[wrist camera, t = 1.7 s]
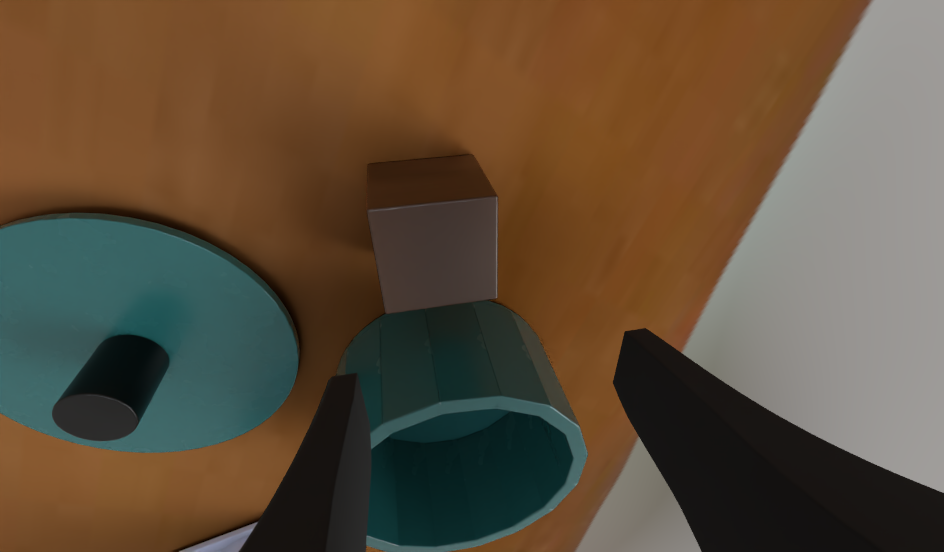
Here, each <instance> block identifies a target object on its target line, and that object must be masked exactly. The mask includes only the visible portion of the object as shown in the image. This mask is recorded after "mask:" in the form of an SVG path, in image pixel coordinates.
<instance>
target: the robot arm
mask: <svg viewBox="0 0 944 552" xmlns="http://www.w3.org/2000/svg"><path fill="white" fill-rule="evenodd" d="M613 384H614V387H615V389H616V391H617V394H618V396H619V399H620V401H621V403H622V406H623V408H624V410H625V412H626V414H627V417H628V418H629V420H630V422H631V424H632V425H633V427H634V429H635V430H636V432H637V434H638V436H639V437H640V439H641V441H642V442H643V444H644V446H645V447H646V449H647V451H648V452H649V454H650V456H651V457H652V459H653V461H654V462H655V464H656V466H657V467H658V469H659V471H660V472H661V474H662V476H663V477H664V479H665V481H666V482H667V484H668V486H669V487H670V489H671V491H672V492H673V494H674V496H675V498H676V500H677V501H678V503H679V505H680V507H681V509H682V511H683V513H684V515H685V517H686V519H687V522H688V523H689V526H690V528H691V530H692V532H693V534H694V536H695V538H696V540H697V542H698V544H699V546H700V549H701V551H702V552H944V493H942V492H939V491H937V490H935V489H932V488H930V487H927V486H925V485H922V484H920V483H917V482H915V481H913V480H910V479H907V478H905V477H903V476H900V475H898V474H896V473H893V472H891V471H889V470H886V469H884V468H882V467H880V466H877V465H875V464H873V463H871V462H868V461H866V460H864V459H862V458H860V457H858V456H856V455H853V454H851V453H849V452H847V451H845V450H843V449H841V448H838V447H837V446H834V445H832V444H830V443H828V442H826V441H824V440H822V439H820V438H818V437H816V436H815V435H812V434H811V433H809V432H807V431H805V430H803V429H801V428H800V427H798V426H796V425H794V424H792V423H790V422H788V421H787V420H785V419H783V418H781V417H779V416H778V415H776V414H774V413H773V412H771V411H769V410H767V409H766V408H764V407H762V406H761V405H759V404H757V403H756V402H754V401H752V400H751V399H749V398H748V397H746V396H745V395H743V394H741V393H740V392H738V391H737V390H735V389H733V388H732V387H730V386H729V385H727V384H725V383H724V382H723V381H721V380H720V379H718V378H717V377H715V376H714V375H712V374H711V373H709V372H708V371H706V370H705V369H703V368H702V367H701V366H699V365H698V364H696V363H695V362H693V361H692V360H691V359H689V358H688V357H686V356H685V355H683V354H682V353H681V352H679V351H678V350H676V349H675V348H674V347H672V346H671V345H669V344H668V343H666V342H665V341H664V340H662V339H661V338H659V337H658V336H656V335H655V334H653V333H652V332H650V331H649V330H647V329H646V328H644V329H637V330H631V331H625V333H624V337H623V341H622V346H621V350H620V354H619V359H618V363H617V367H616V372H615V376H614V380H613ZM370 480H371V437H370V422H369V418H368V414H367V410H366V406H365V402H364V398H363V394H362V390H361V386H360V382H359V378H358V374H357V373H351V374H345V375H338V376H332V377H331V378H330V379H329V380H328V383H327V386H326V389H325V392H324V394H323V397H322V399H321V402H320V404H319V407H318V409H317V411H316V414H315V416H314V418H313V420H312V423H311V425H310V427H309V429H308V431H307V433H306V435H305V437H304V440H303V442H302V444H301V446H300V448H299V450H298V452H297V454H296V456H295V458H294V460H293V462H292V464H291V465H290V467H289V469H288V471H287V473H286V475H285V476H284V478H283V480H282V482H281V484H280V485H279V487H278V489H277V491H276V493H275V494H274V496H273V498H272V500H271V501H270V503H269V505H268V506H267V508H266V510H265V511H264V513H263V515H262V516H261V518H260V519H259V521H258V522H256V523H253V524H251V525H248V526H245V527H243V528H240V529H237V530H235V531H232V532H229V533H227V534H224V535H221V536H219V537H216V538H213V539H211V540H208V541H205V542H203V543H200V544H197V545H195V546H192V547H189V548H187V549H184V550H181V551H179V552H366V539H367V524H368V510H369V495H370Z"/></svg>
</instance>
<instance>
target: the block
mask: <svg viewBox="0 0 944 552" xmlns="http://www.w3.org/2000/svg"><path fill="white" fill-rule="evenodd" d="M367 216H368V222H369V227H370V233H371V238H372V244H373V249H374V255H375V260H376V266H377V271H378V277H379V282H380V287H381V293H382V298H383V304H384V309H385V313H386V314H391V313H398V312H405V311H413V310H420V309H427V308H434V307H441V306H448V305H455V304H462V303H470V302H477V301H484V300H491V299H496V298H497V292H498V196H497V194H496V192H495V191H494V189H493V187H492V186H491V184H490V182H489V181H488V179H487V177H486V175H485V174H484V172H483V170H482V169H481V167H480V165H479V163H478V162H477V160H476V158H475V157H474V155H462V156H451V157H441V158H430V159H419V160H408V161H397V162H386V163H376V164H368V169H367Z"/></svg>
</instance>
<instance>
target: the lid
mask: <svg viewBox="0 0 944 552" xmlns="http://www.w3.org/2000/svg"><path fill="white" fill-rule="evenodd" d="M299 357H300V349H299V339H298V336H297V332H296V329H295V325H294V323H293V321H292V319H291V317H290V315H289V313H288V311H287V309H286V308H285V306H284V305H283V303H282V302H281V300H280V299H279V297H278V296H277V295H276V293H275V292H274V291H273V290H272V289H271V288H270V287H269V286H268V285H267V283H266V282H265V281H264V280H263V279H261V278H260V277H259V276H258V275H257V274H256V273H255V272H253V271H252V270H251V269H250V268H249V267H247V266H246V265H245V264H243V263H242V262H240V261H239V260H237V259H236V258H234V257H233V256H232V255H230V254H228V253H227V252H225V251H223V250H221V249H219V248H218V247H216V246H214V245H212V244H210V243H209V242H206V241H204V240H202V239H199V238H197V237H195V236H192V235H190V234H188V233H186V232H183V231H180V230H177V229H174V228H171V227H168V226H165V225H162V224H158V223H154V222H150V221H145V220H141V219H137V218H132V217H125V216H118V215H110V214H102V213H61V214H47V215H41V216H36V217H30V218H25V219H20V220H17V221H14V222H11V223H8V224H4V225H1V226H0V413H1V414H3V415H5V416H7V417H9V418H10V419H12V420H14V421H16V422H18V423H20V424H23V425H25V426H27V427H29V428H32V429H34V430H36V431H39V432H42V433H44V434H47V435H50V436H53V437H56V438H59V439H62V440H66V441H70V442H73V443H77V444H81V445H86V446H91V447H96V448H101V449H108V450H116V451H126V452H141V453H148V452H174V451H184V450H191V449H197V448H202V447H206V446H210V445H215V444H218V443H221V442H224V441H227V440H230V439H233V438H235V437H237V436H240V435H242V434H244V433H246V432H248V431H250V430H251V429H253V428H255V427H257V426H258V425H260V424H261V423H263V422H264V421H265V420H266V419H268V418H269V417H270V416H271V415H272V414H273V413H275V412H276V411H277V410H278V409H279V408H280V406H281V405H282V404H283V402H284V401H285V400H286V398H287V397H288V395H289V393H290V391H291V389H292V387H293V385H294V383H295V379H296V376H297V372H298V367H299Z"/></svg>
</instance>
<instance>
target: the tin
mask: <svg viewBox="0 0 944 552" xmlns="http://www.w3.org/2000/svg"><path fill="white" fill-rule="evenodd" d="M351 373H357V374H358V378H359V382H360V386H361V390H362V394H363V398H364V402H365V406H366V410H367V414H368V418H369V422H370V437H371V480H370V495H369V510H368V524H367V539H366V546H369V547H372V548H376V549H379V550H382V551H386V552H448V551H454V550H460V549H466V548H472V547H476V546H480V545H483V544H486V543H488V542H491V541H494V540H497V539H499V538H502V537H505V536H507V535H510V534H513V533H516V532H518V531H520V530H521V529H523V528H525V527H526V526H528V525H530V524H531V523H533V522H534V521H536V520H538V519H539V518H541V517H542V516H544V515H546V514H547V513H549V512H551V511H552V510H553V509H554V508H555V507H556V506H557V505H558V504H559V503H560V502H561V501H562V500H563V499H564V498H565V497H566V496H567V495H568V494H569V492H570V491H571V490H572V489H573V488H574V487H575V486H576V485H577V483H578V482H579V479H580V476H581V473H582V470H583V468H584V465H585V462H586V459H587V456H588V455H587V454H588V452H587V449H586V445H585V442H584V439H583V435H582V432H581V429H580V426H579V424H578V422H577V420H576V417H575V415H574V413H573V411H572V409H571V407H570V405H569V402H568V400H567V398H566V396H565V394H564V392H563V390H562V387H561V385H560V383H559V381H558V379H557V377H556V375H555V372H554V370H553V368H552V366H551V364H550V362H549V360H548V358H547V355H546V353H545V351H544V349H543V347H542V345H541V343H540V340H539V338H538V336H537V335H536V333H535V332H534V331H533V330H532V329H531V327H530V326H529V325H528V324H527V323H526V322H525V321H524V320H523V319H522V318H521V317H520V316H518V315H517V314H516V313H514V312H513V311H511V310H509V309H507V308H506V307H504V306H502V305H499V304H496V303H494V302H491V301H487V300H484V301H477V302H470V303H462V304H455V305H448V306H441V307H434V308H427V309H420V310H413V311H405V312H398V313H391V314H384V315H382V316H381V317H379V318H377V319H376V320H374V321H373V322H371V323H370V324H369V325H368V326H366V327H365V328H364V329H363V330H362V331H361V332H360V333H359V334H358V335H357V336H356V337H355V338H354V339H353V340H352V341H351V343H350V344H349V345H348V347H347V348H346V350H345V351H344V353H343V355H342V357H341V359H340V362H339V365H338V368H337V373H336V375H335V376H338V375H345V374H351Z"/></svg>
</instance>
